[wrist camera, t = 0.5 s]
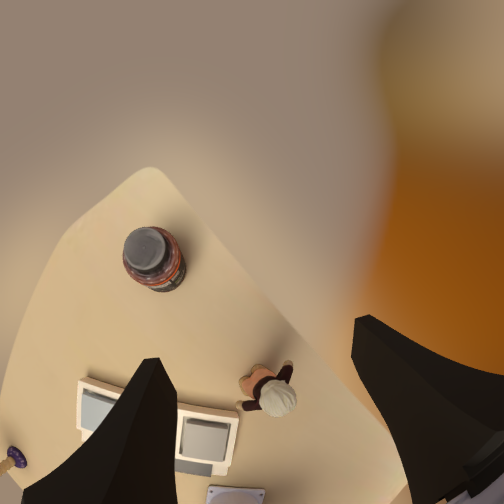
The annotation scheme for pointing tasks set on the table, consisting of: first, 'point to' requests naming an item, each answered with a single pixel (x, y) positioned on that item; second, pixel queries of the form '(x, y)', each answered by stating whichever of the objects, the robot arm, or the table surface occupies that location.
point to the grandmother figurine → (268, 391)
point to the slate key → (94, 410)
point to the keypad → (184, 413)
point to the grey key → (204, 440)
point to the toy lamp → (13, 460)
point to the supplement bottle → (154, 259)
